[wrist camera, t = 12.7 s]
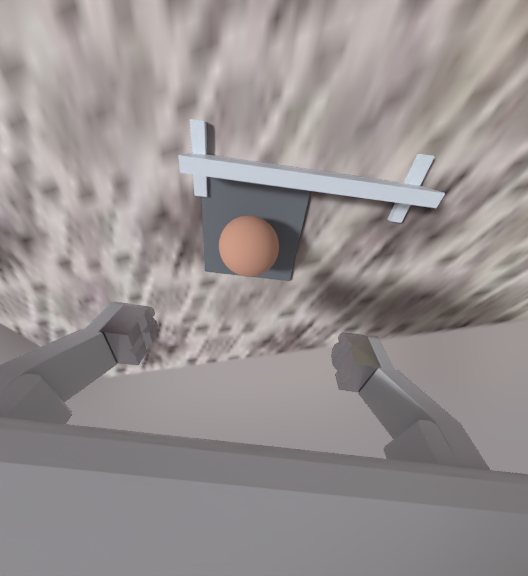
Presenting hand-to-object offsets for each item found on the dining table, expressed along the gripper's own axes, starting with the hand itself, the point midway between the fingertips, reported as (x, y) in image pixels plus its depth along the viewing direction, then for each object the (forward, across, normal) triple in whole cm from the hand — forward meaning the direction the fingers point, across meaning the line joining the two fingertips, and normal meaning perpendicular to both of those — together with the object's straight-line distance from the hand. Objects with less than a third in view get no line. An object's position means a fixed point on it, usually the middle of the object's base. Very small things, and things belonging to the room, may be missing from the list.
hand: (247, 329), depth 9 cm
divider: (+13, -3, -5) cm, 14 cm away
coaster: (+13, +1, +1) cm, 13 cm away
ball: (+12, +1, +1) cm, 12 cm away
